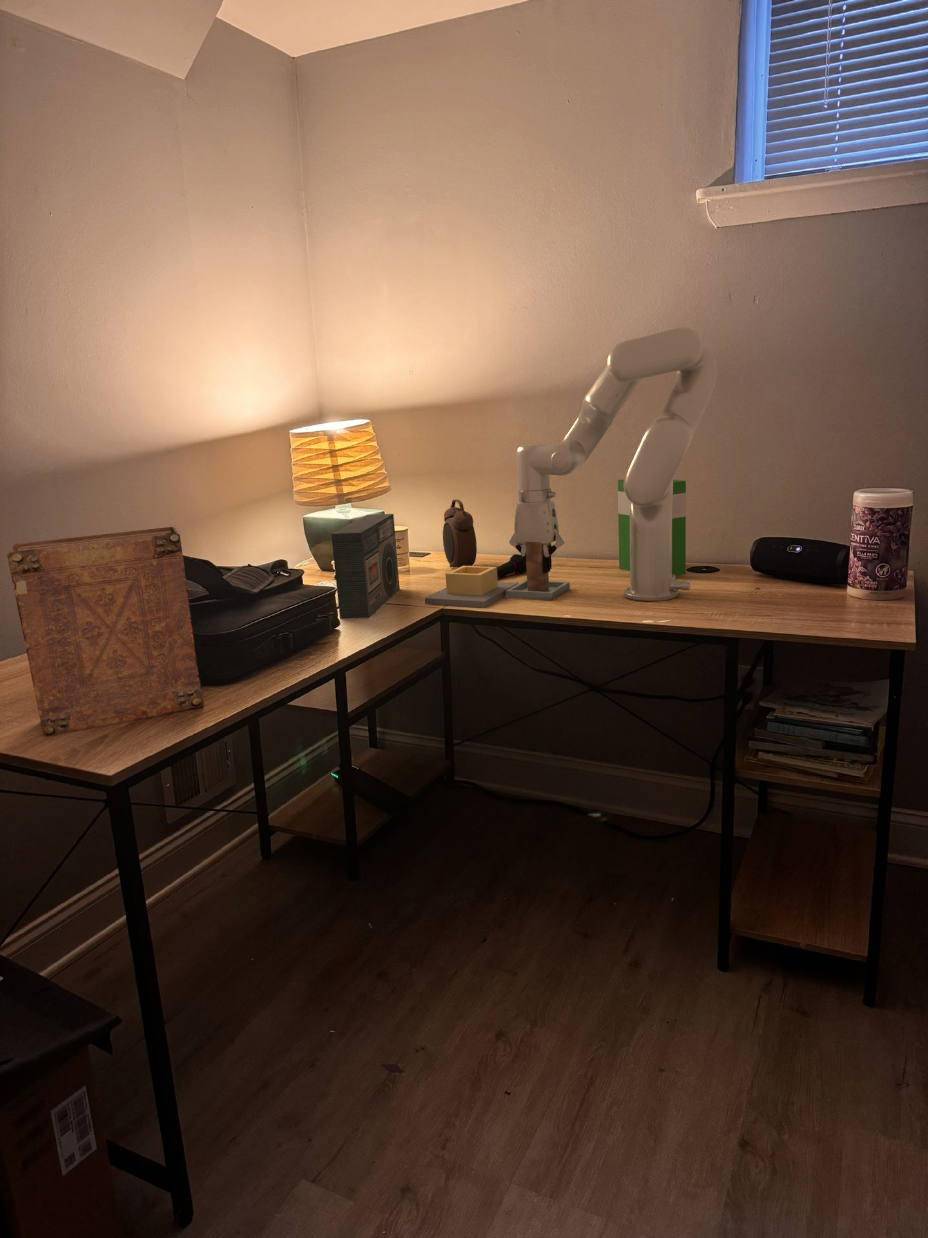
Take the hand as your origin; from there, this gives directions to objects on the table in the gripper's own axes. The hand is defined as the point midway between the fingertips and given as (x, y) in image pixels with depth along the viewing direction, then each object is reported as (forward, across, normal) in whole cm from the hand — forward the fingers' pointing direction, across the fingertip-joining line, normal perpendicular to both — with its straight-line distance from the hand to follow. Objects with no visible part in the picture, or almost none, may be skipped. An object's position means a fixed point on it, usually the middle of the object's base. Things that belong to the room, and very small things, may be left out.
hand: (537, 570), depth 210 cm
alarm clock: (+6, +33, -22) cm, 40 cm away
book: (+6, +36, +96) cm, 103 cm away
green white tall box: (+6, -20, -30) cm, 36 cm away
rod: (+5, 0, 0) cm, 5 cm away
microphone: (+6, +18, -15) cm, 24 cm away
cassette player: (+6, +37, +18) cm, 42 cm away
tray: (+6, 0, 0) cm, 6 cm away
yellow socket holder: (+6, +15, +6) cm, 17 cm away
